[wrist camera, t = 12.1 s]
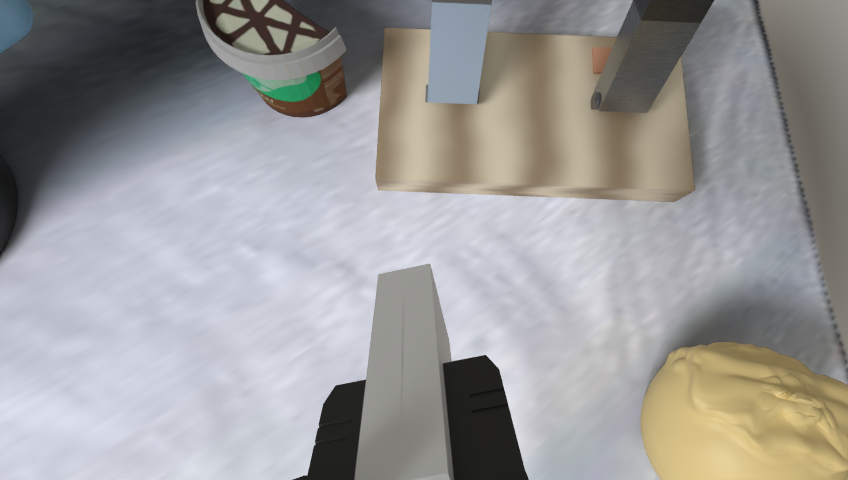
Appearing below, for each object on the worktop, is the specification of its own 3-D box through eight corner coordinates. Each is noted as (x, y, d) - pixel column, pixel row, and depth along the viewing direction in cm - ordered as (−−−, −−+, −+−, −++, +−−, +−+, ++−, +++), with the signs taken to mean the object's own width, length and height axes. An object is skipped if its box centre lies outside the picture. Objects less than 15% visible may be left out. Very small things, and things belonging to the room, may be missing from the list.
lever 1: (424, 109, 38) (430, -30, 29) (425, 92, 39) (430, -46, 31) (478, 111, 38) (498, -27, 29) (476, 94, 39) (496, -43, 31)
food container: (212, 82, 42) (150, 2, 32) (256, 35, 43) (209, -56, 33) (317, 155, 40) (286, 95, 31) (359, 105, 42) (342, 31, 32)
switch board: (378, 190, 40) (375, 176, 37) (386, 49, 43) (384, 25, 40) (674, 201, 40) (697, 189, 37) (661, 60, 43) (681, 37, 40)
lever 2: (593, 117, 38) (651, -9, 29) (588, 97, 39) (643, -30, 30) (645, 119, 38) (721, -7, 29) (639, 99, 39) (709, -28, 30)
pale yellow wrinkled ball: (772, 361, 37) (913, 368, 27) (760, 520, 34) (911, 598, 24) (633, 326, 38) (718, 319, 27) (611, 481, 35) (695, 539, 24)
